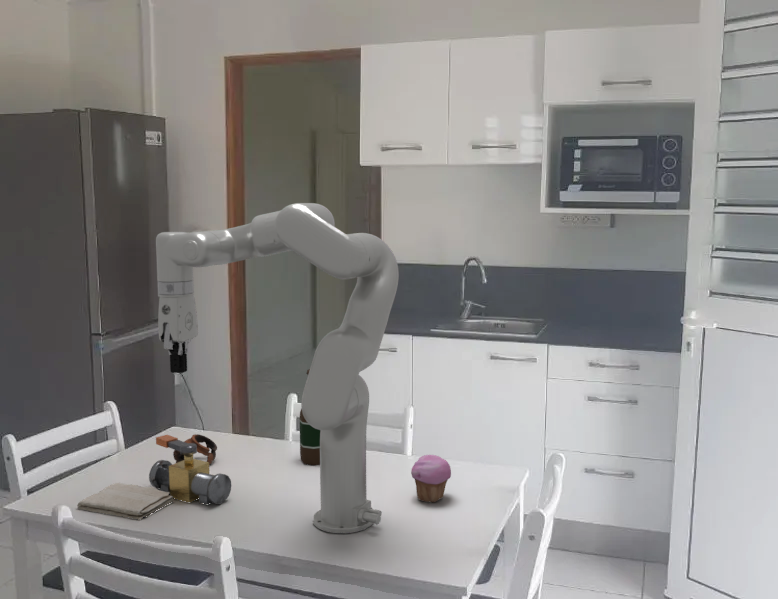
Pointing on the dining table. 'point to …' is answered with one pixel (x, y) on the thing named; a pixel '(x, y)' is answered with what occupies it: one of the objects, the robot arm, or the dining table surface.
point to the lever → (176, 444)
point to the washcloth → (126, 501)
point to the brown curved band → (199, 448)
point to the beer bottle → (309, 442)
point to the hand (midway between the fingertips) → (178, 371)
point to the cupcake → (431, 477)
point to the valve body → (190, 481)
